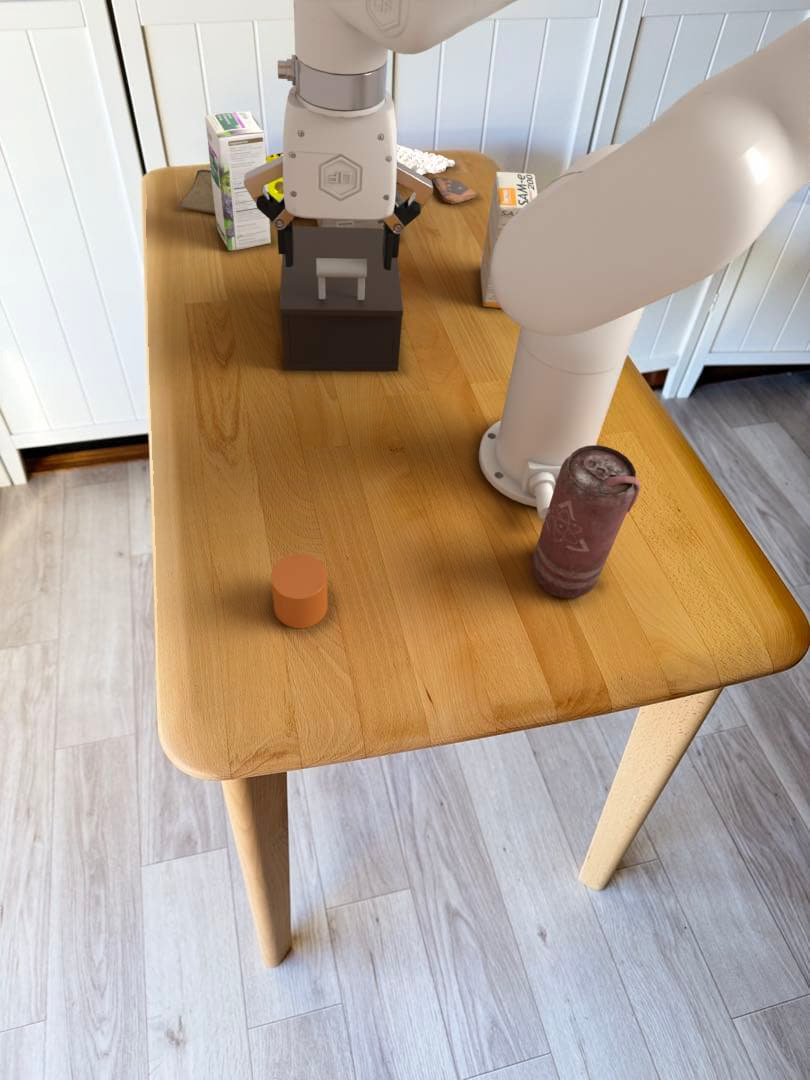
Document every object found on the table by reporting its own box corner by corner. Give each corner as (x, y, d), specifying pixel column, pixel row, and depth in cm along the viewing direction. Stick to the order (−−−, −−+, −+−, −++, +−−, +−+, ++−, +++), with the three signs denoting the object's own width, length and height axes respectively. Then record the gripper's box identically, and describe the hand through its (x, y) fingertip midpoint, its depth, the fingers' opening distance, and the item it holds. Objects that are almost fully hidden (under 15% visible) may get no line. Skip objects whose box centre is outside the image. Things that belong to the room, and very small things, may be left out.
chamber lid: (402, 316, 84) (406, 272, 80) (279, 315, 83) (276, 270, 79) (394, 234, 94) (397, 191, 90) (284, 232, 92) (281, 188, 88)
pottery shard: (479, 192, 114) (447, 195, 112) (477, 202, 115) (446, 205, 113) (458, 171, 118) (427, 173, 116) (457, 180, 119) (426, 183, 117)
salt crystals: (458, 169, 121) (460, 158, 120) (421, 184, 104) (423, 170, 104) (334, 136, 124) (335, 124, 123) (279, 145, 107) (280, 132, 107)
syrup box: (215, 229, 106) (201, 114, 95) (259, 221, 108) (250, 108, 96) (229, 252, 103) (215, 137, 92) (273, 244, 105) (265, 129, 93)
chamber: (398, 371, 91) (402, 312, 85) (284, 370, 90) (280, 311, 83) (391, 293, 100) (394, 235, 94) (287, 291, 99) (284, 232, 92)
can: (597, 607, 72) (643, 505, 61) (527, 593, 73) (560, 489, 62) (601, 555, 76) (645, 449, 65) (534, 541, 77) (566, 435, 66)
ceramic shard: (257, 176, 107) (253, 173, 106) (252, 219, 108) (249, 217, 107) (187, 166, 108) (182, 163, 106) (183, 209, 109) (178, 207, 108)
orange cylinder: (327, 628, 69) (327, 598, 66) (273, 629, 69) (269, 599, 65) (327, 584, 72) (326, 553, 69) (275, 584, 72) (271, 553, 68)
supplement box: (521, 310, 99) (542, 210, 89) (481, 308, 99) (498, 206, 89) (516, 271, 104) (536, 172, 94) (479, 269, 104) (494, 169, 94)
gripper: (232, 94, 64) (248, 280, 78) (448, 105, 66) (427, 286, 80) (238, 54, 69) (252, 236, 82) (440, 65, 71) (421, 242, 84)
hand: (338, 260), depth 81 cm, fingers open, 9 cm apart
